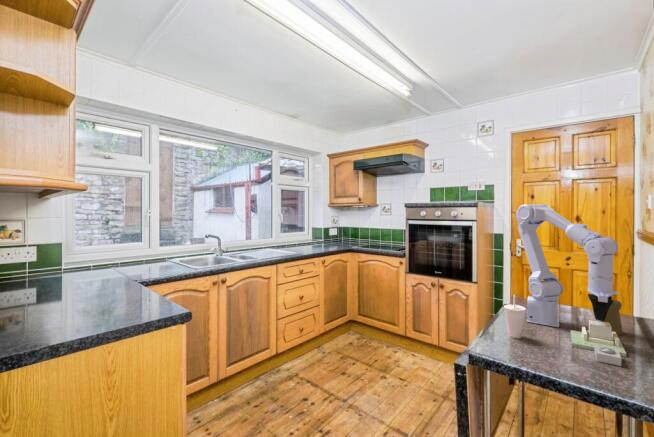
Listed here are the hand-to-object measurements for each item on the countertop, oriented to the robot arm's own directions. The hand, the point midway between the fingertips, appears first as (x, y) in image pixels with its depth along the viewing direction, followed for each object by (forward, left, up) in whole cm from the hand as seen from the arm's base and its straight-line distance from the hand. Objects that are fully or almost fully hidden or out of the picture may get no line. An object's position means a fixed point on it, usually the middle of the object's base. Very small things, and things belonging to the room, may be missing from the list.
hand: (599, 319), depth 96 cm
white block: (0, 0, -6) cm, 6 cm away
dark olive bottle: (+4, +13, -8) cm, 16 cm away
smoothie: (-22, -9, -8) cm, 25 cm away
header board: (-1, -2, -7) cm, 8 cm away
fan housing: (0, -12, -7) cm, 15 cm away
